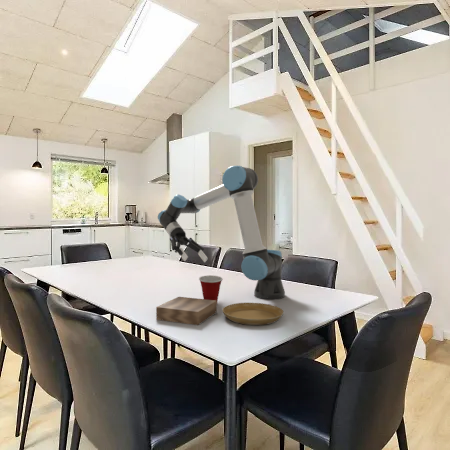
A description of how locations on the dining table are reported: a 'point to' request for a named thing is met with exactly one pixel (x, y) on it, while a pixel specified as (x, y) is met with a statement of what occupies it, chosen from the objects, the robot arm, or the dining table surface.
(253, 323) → the plant saucer
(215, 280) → the plastic cup
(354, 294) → the dining table surface
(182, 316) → the walnut podium
